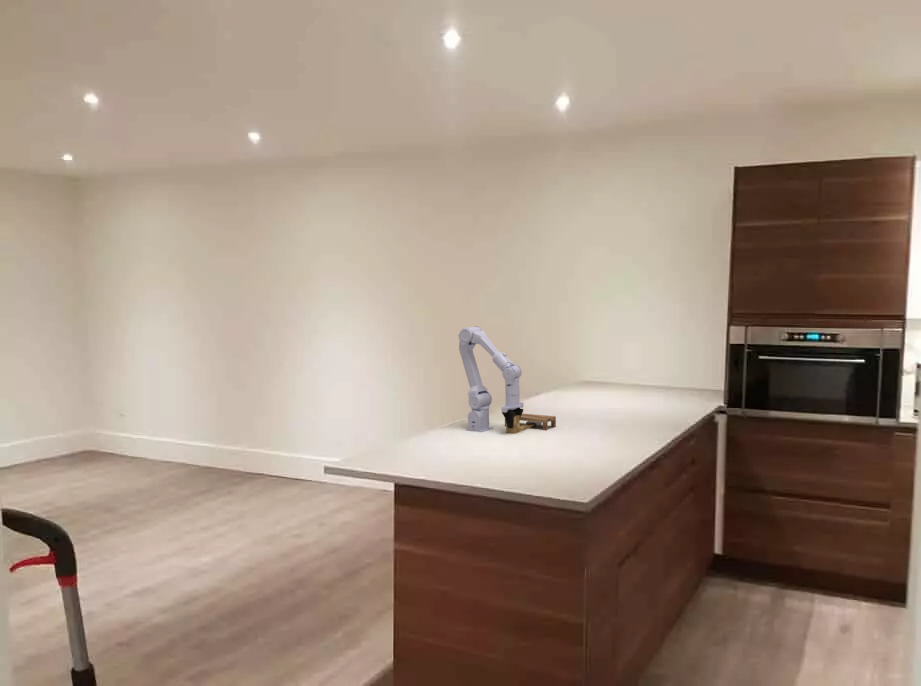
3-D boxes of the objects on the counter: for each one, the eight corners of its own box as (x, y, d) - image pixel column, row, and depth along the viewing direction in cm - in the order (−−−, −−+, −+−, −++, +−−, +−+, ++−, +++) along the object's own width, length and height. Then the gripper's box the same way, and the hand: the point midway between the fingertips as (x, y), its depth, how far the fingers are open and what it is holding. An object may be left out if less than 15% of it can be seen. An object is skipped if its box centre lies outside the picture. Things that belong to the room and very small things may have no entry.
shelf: (545, 430, 314) (545, 419, 313) (505, 426, 325) (504, 415, 325) (555, 426, 321) (555, 416, 321) (515, 422, 332) (515, 412, 332)
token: (536, 427, 322) (536, 422, 322) (526, 426, 325) (526, 421, 325) (541, 425, 326) (541, 420, 326) (531, 424, 329) (531, 419, 329)
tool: (514, 433, 308) (514, 416, 308) (506, 432, 311) (506, 415, 310) (534, 426, 322) (534, 410, 322) (526, 425, 325) (526, 409, 324)
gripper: (511, 397, 302) (512, 430, 303) (529, 392, 314) (530, 424, 315) (496, 396, 306) (497, 429, 307) (515, 391, 318) (515, 423, 319)
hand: (513, 427), depth 311 cm, fingers closed on tool, 4 cm apart
